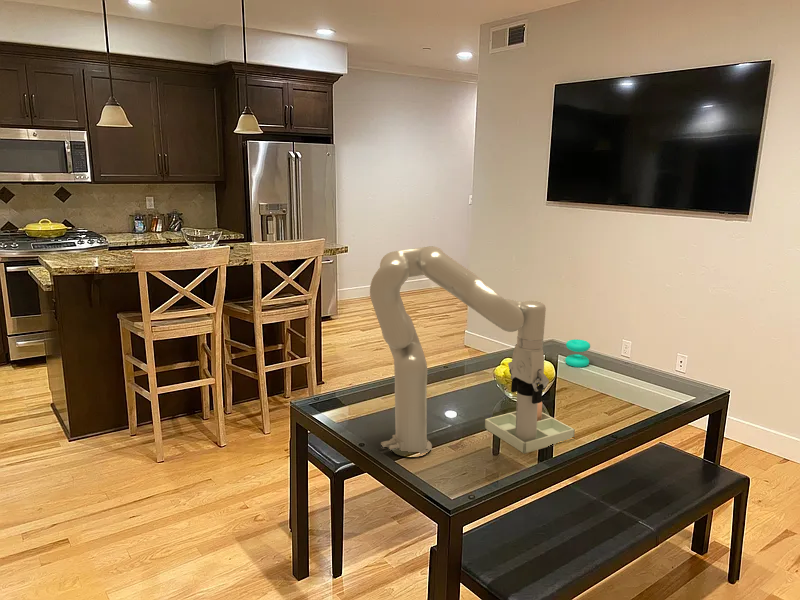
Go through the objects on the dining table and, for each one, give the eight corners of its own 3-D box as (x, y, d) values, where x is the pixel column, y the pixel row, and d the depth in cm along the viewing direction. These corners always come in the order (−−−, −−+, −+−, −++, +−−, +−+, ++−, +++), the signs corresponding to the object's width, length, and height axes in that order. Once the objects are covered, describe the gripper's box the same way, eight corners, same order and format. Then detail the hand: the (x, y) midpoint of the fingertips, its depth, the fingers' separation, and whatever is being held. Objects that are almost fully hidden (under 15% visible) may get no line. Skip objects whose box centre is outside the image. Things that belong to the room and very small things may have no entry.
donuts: (581, 346, 246) (561, 341, 253) (579, 369, 248) (560, 363, 256) (595, 342, 252) (575, 337, 259) (593, 364, 254) (574, 358, 262)
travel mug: (539, 440, 183) (541, 379, 179) (532, 449, 178) (534, 386, 173) (519, 436, 186) (521, 376, 182) (512, 444, 181) (514, 383, 176)
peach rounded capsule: (529, 430, 190) (529, 407, 188) (515, 422, 196) (516, 400, 194) (545, 426, 193) (546, 403, 192) (531, 418, 199) (532, 396, 198)
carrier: (524, 456, 176) (524, 443, 175) (484, 430, 193) (485, 419, 192) (574, 441, 185) (574, 429, 184) (532, 417, 202) (532, 407, 201)
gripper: (501, 336, 181) (498, 389, 184) (539, 352, 166) (535, 409, 170) (521, 334, 184) (517, 385, 188) (560, 349, 169) (555, 405, 173)
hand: (525, 397), depth 179 cm, fingers open, 9 cm apart
